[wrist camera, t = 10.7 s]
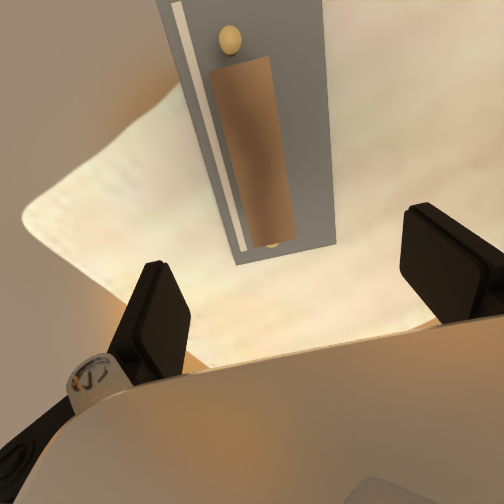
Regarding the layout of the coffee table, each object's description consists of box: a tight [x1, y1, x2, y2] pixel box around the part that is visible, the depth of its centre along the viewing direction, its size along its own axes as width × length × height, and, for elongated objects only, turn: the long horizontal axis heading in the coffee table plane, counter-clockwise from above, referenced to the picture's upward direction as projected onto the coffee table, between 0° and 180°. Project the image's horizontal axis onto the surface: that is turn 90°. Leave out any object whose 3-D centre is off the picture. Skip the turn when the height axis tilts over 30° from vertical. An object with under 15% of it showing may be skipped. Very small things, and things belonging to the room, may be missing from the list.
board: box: [156, 0, 336, 266], centre depth 27 cm, size 13×28×6 cm, turn 12°
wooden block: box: [209, 56, 297, 248], centre depth 26 cm, size 4×14×8 cm, turn 12°
